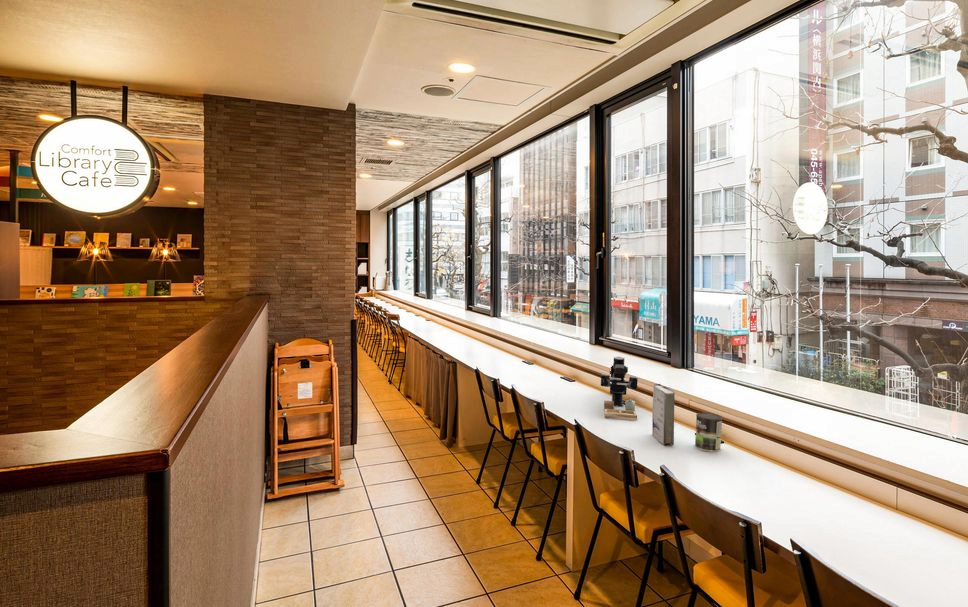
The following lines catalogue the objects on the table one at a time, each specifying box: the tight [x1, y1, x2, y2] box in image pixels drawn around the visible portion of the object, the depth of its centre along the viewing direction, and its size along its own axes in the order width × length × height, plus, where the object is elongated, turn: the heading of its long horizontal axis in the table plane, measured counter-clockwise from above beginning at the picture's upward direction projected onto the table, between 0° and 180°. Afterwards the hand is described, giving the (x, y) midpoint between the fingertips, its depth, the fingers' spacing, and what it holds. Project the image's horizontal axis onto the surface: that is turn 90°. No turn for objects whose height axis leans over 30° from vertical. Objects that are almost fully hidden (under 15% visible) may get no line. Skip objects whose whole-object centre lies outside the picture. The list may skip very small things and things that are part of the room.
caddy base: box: [603, 408, 638, 421], centre depth 264 cm, size 9×16×2 cm, turn 78°
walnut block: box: [603, 400, 615, 410], centre depth 275 cm, size 5×5×5 cm
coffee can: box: [694, 412, 723, 453], centre depth 219 cm, size 10×10×14 cm
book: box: [651, 383, 676, 446], centre depth 228 cm, size 16×6×24 cm, turn 178°
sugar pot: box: [624, 399, 636, 411], centre depth 273 cm, size 5×5×7 cm
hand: (619, 386), depth 263 cm, fingers open, 9 cm apart
